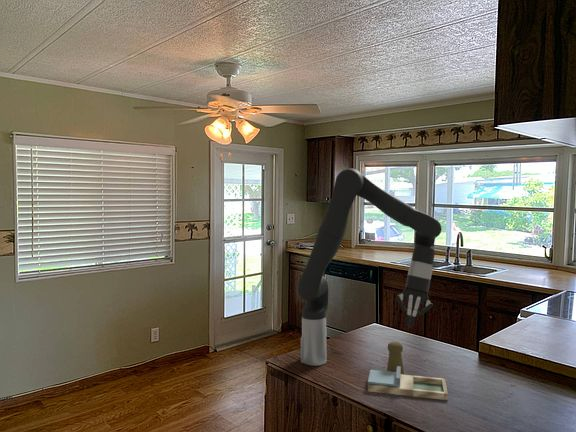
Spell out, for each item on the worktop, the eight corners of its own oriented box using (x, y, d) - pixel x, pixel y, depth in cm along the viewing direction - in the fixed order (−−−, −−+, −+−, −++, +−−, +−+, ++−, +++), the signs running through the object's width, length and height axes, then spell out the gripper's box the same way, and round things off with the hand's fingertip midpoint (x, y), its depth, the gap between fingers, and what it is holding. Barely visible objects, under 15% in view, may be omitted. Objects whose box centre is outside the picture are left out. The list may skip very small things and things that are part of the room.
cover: (367, 383, 136) (367, 375, 135) (370, 371, 145) (370, 363, 145) (399, 386, 133) (399, 378, 133) (400, 374, 142) (400, 366, 142)
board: (367, 391, 135) (367, 385, 135) (371, 377, 145) (370, 371, 145) (447, 400, 128) (447, 393, 128) (444, 384, 139) (444, 378, 139)
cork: (404, 377, 144) (404, 346, 144) (386, 376, 146) (386, 345, 145) (403, 370, 150) (403, 340, 150) (386, 369, 152) (386, 339, 151)
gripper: (398, 271, 141) (388, 322, 140) (440, 280, 137) (429, 333, 136) (400, 271, 149) (390, 320, 147) (439, 280, 144) (429, 331, 143)
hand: (409, 326), depth 141 cm, fingers closed
